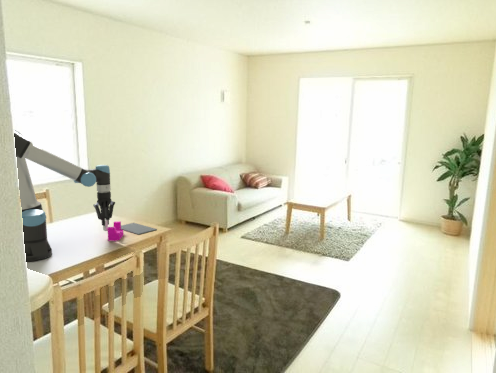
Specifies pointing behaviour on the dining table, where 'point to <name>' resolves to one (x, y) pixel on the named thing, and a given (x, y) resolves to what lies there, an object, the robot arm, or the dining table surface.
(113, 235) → the magenta bearing cap
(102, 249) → the dining table surface
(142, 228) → the pad
